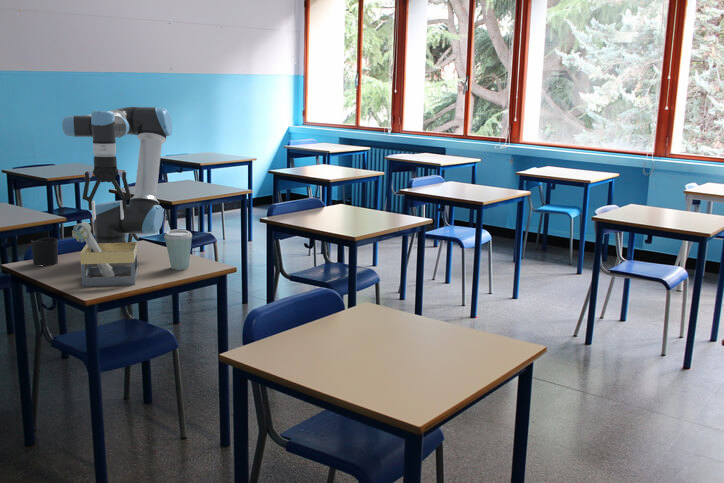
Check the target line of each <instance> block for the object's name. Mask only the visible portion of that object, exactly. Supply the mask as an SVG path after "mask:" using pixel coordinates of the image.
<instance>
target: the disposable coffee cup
mask: <svg viewBox="0 0 724 483" xmlns="http://www.w3.org/2000/svg"><path fill="white" fill-rule="evenodd" d="M192 238H193V234H192V233H191V231H189V230H186V229H170V230H167V231H165V234H164V238H163V239H164V240H165V244H166V249H167V253H168V260H169V264H170V268H171V269H172V270H173V269H175V270H174V271H183V270H182V269H185V270H187V269H186V268H188V269H189V266H190V258H191V248H192Z"/></svg>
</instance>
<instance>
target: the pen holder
mask: <svg viewBox="0 0 724 483" xmlns="http://www.w3.org/2000/svg"><path fill="white" fill-rule="evenodd" d="M30 243H31V253H32V261H33V262H32V263H33V265H34V264H35V265H43V266H42V267H47V266H46V265H52V266H55V265H54V264H56V265H57V264H58V263H59V253H58V251H59V248H58V247H59V246H58V238H55V237H42V238H40V239H38V240H30ZM35 265H34V266H35Z"/></svg>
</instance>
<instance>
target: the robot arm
mask: <svg viewBox="0 0 724 483" xmlns="http://www.w3.org/2000/svg"><path fill="white" fill-rule="evenodd" d="M61 126H62V131H63V133H64V135H66V136H67V137H74V138H76V137H77V138H79V137H80V138H83V137H84V138H92V153H93V155H94V156H93V170H92V171H91V170H90V171H87V170H86V171H85V172H84V176H85V183H84V186H83V192H82V200H83V201H87V203H88V210H89V211H91V212H92V214H91V215H92V221H93V222H94V226H93V227H94V239H95V240H96V242H97V243H123V242H128V241H127V238H126V234H134V235H135V234H138V235H139V234H140V235H141V234H142V235H149V234H151V235H154V234H156V233H158V232H159V231H160V230H161V228H162V225H163V221H164V215H165V214H164V209H163V207H162V206H161V205H160V201H159V200H158V199H157V192H158V183H159V175H160V165H161V155H162V154H161V153H162V145H163V144H164V143H165V142H166V141H167V137H170V136H172V133H173V123H172V117H171V115H170V112H169V111H168V110H167V109H166V108H165V107H157V106H155V107H152V106H151V107H148V106H129V107H128V106H126V107H121V108H116V109H110V110H108V111H107V110H93V111H92V112H91V114H84V115H74V114H72V115H66V116H64V117H63V119H62V123H61ZM126 135H129V136H133V135H134V136H137V139H138V141H139V150H138V159H137V170H136V178H135V186H134V193H133V194H134V195H133V196H132V195H131V191H130V187H129V183H128V179H127V171H125V170H124V171H121V170H118V164H117V163H118V162H117V160H118V159H117V156H115V155H117V147H116V146H117V144H116V138H122V137H124V136H125V137H126ZM118 175H119V177H120V178H121V180H122V183H123V188H124V191H125V194H124V192H123V191H122V188H121V187H120V185H119V184H118V181H117V179H116V177H117V176H118ZM92 176H94V177H95V178H96V181H95V183H94V186H93V188H92V190H91V192H90V195H89V196H88V193H89V189H90V188H89V187H90V182H91V178H92ZM106 182H107V183H112V185H113V186H114V188H115V190H116V192H117V194H118V196H119V197H120V199H121V200H113V201H106V202H101V203H97V204H96V201H95V200H93V199H94V197H95V195H96V193H97V191H98V188H99V186H100V184H101V183H106ZM128 200H129V204H127V201H128Z"/></svg>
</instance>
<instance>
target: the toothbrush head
mask: <svg viewBox="0 0 724 483" xmlns="http://www.w3.org/2000/svg"><path fill="white" fill-rule="evenodd" d="M91 231H92V226H91V224H89V222H86V221H82V222H81V223H76V224H75V225H74V226H73V230H72V231H71V233H72V234H71V235H72V238H74V239H76V242H79V243H84V242H85V243H86V244H87V245H88V247H89V249H90V251H91V252H102V251H101V249H100V247H99V246H98V244H97V242H96V240H95V236H93V234H92V232H91ZM96 266H97V267H99V269H100V273H101V274H102V275H101V276H102V277H109V276H116V275H115V274H114V272H113V270H112V269H113V268H112V266H113V265H110V263H106V264H96Z"/></svg>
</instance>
